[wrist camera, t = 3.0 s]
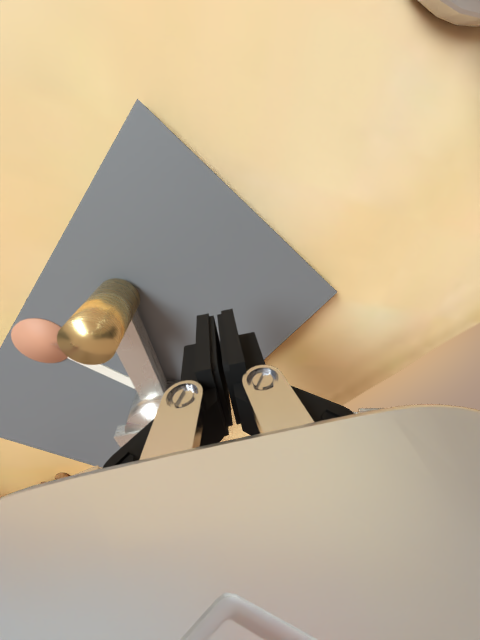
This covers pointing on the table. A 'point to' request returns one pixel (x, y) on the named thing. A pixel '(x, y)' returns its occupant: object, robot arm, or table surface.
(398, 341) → the table surface
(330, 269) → the table surface
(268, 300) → the base plate
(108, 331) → the crank handle
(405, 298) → the table surface
